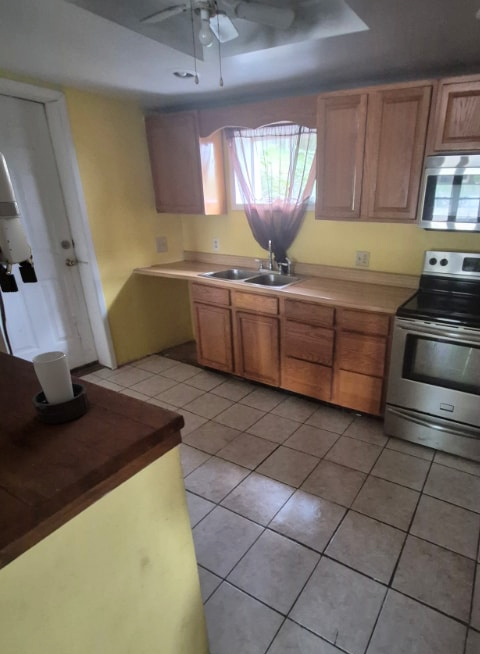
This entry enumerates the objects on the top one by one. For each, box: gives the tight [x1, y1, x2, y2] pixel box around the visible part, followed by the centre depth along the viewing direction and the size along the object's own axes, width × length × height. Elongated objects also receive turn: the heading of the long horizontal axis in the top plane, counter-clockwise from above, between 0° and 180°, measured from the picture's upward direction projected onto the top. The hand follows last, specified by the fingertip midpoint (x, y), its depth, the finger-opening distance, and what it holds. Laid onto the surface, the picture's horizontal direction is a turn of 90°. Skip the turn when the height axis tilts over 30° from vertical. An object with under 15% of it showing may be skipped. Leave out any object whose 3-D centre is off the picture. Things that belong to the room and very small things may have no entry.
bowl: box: [31, 382, 90, 425], centre depth 93 cm, size 11×11×6 cm
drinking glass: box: [32, 350, 74, 404], centre depth 91 cm, size 7×7×15 cm
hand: (21, 287), depth 89 cm, fingers open, 9 cm apart
